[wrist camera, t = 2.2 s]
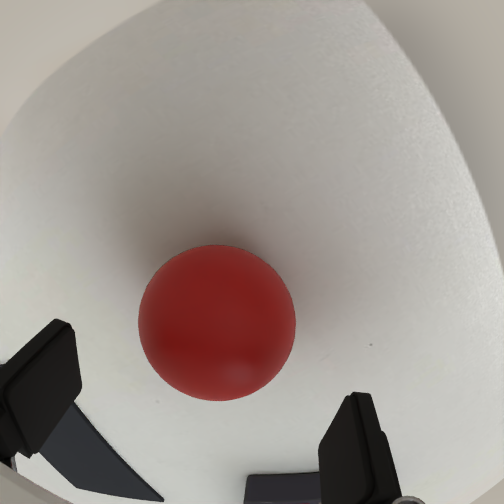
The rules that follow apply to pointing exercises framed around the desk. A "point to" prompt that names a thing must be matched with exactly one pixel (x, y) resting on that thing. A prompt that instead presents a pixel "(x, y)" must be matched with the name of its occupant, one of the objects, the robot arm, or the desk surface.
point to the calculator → (283, 489)
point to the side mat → (92, 460)
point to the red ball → (217, 322)
